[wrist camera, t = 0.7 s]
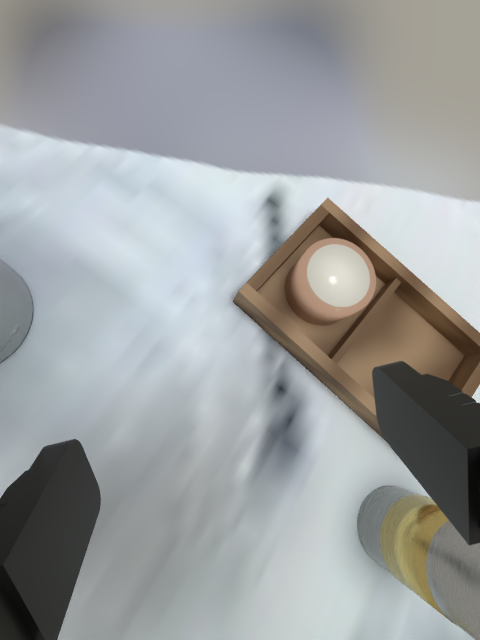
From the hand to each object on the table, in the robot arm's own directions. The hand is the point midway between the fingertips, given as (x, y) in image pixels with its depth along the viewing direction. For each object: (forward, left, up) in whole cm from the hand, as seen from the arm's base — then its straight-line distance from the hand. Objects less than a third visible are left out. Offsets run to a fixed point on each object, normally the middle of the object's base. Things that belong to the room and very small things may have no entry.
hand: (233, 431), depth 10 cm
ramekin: (+1, +15, -20) cm, 25 cm away
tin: (+18, +4, -20) cm, 27 cm away
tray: (+6, +15, -20) cm, 26 cm away
